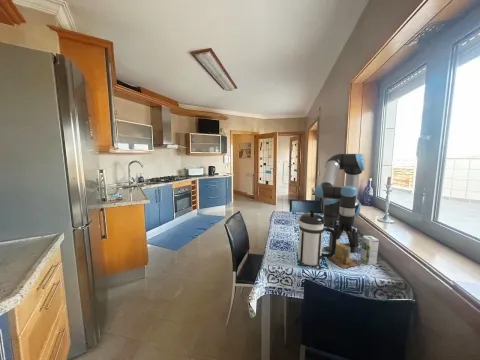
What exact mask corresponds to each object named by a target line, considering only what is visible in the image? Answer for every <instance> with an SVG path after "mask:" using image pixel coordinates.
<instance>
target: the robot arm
mask: <svg viewBox="0 0 480 360" xmlns="http://www.w3.org/2000/svg"><path fill="white" fill-rule="evenodd" d="M324 167H325V170H324V173H323V176H322V179H321V184H319V185H316V186H315V189H314V195H315V197H316V198H320V199H325V200H324V204H323V205H324V206H323V207H324V208H323V216H322V217H323V219H324V220H325V223H324V227H325V226H326V227H325V228H329V227H330V229H333V230H334V232H335V234H336V244H338V243H341V237H342V236H341V234H342V233H343V231H345V232H346V234H347V235H346V236H347V240H348V243H349V244H350V246H349V249H348V258H352V259H353V258H354V254H355V253H354V250H355V247H357V248H359V247H360V246H359V235H358V232H359V228H357V227H354V223H355V218H356V217H358V216H359V215H360V212H361V207H362V203H361V202H360V200H359V199H358V193H359V183H360V175H362V173H363V171H365V167H366V166H365V156H364V154H362V153H336V154H334V155H332V156H331V157H330V158H329V159H327V161H326V162H325V166H324ZM339 170H343V172H344V174H345V185H342V186H335V182H336V177H337V174H338V171H339ZM332 237H333V236H332ZM352 244H353V245H352Z"/></svg>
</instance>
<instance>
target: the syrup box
mask: <svg viewBox="0 0 480 360" xmlns="http://www.w3.org/2000/svg"><path fill="white" fill-rule="evenodd" d="M379 241H380V239H378V238H377V237H376V238H375V237H374V236H372V235H362V239H361V247H360V249H361V252H360V258H359V260H360V261H361V262H362V263H364V264H365V265H366V266H375V265H377V261H378V260H377V259H378V251H379V245H380V244H379Z"/></svg>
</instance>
